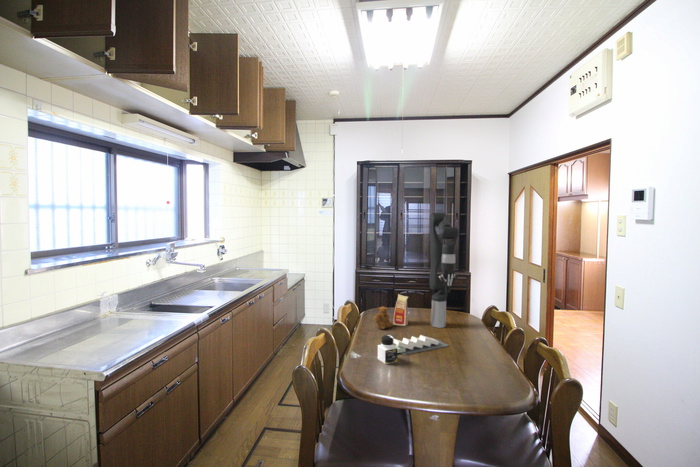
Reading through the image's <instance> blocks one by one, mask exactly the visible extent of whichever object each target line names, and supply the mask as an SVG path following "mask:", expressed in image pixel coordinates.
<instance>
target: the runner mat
mask: <svg viewBox="0 0 700 467" xmlns="http://www.w3.org/2000/svg"><path fill="white" fill-rule="evenodd" d="M435 340H437V341H439V344H438V345H435V344H432V343H431V346H430V347H429V346H425V345H423V347H422V348H419V347H415V346H414V347H413V350H411V349H408V348H406V352H401V353H400V354H401V355H403V356H406V355H411V354H416V353H420V352H425V351H432V350H437V349H442V348H447V347H450V345H449V344H447V343H445V342H443V341H441V340H439V339H437V338H436V339H435Z"/></svg>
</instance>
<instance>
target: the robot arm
mask: <svg viewBox="0 0 700 467" xmlns="http://www.w3.org/2000/svg"><path fill="white" fill-rule="evenodd" d="M429 226H430V227H429V228H430V229H429V230H430V252H429V253H430V255H429V256H430V269H429V288H430V290H431V291H437V292H436V293H434V294H432V295H431V309H430V325H431V327H434V328H438V329H439V328H440V329H443V328H446V327H447V326H446V325H447V297H448V293H451V291H452V285H455V283H456V281H457V279H458V277H459V275H457V274H456V273H455V270H456V246H457V240H458V239H459V235H460V231H459V228H457V227H456V226H452V225H451V223H450V220H449V218H448V214H447V213H445V212H432V213H430V215H429ZM436 227H437V228H438V230H439V232H438V233H437V229H436ZM443 240H450V242H447V243H444V242H443ZM439 267H441V275H438V271H439Z"/></svg>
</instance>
